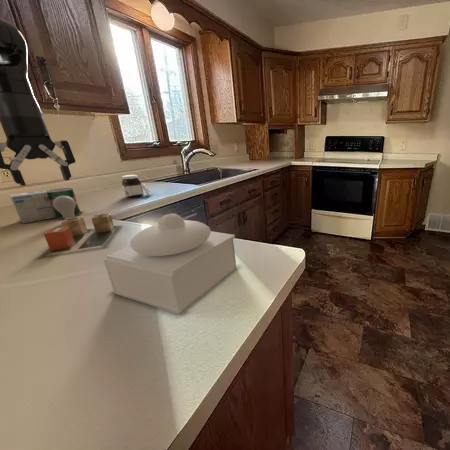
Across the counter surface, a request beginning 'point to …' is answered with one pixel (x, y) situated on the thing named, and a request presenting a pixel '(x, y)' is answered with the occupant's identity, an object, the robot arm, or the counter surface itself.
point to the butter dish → (171, 263)
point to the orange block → (59, 238)
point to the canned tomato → (63, 192)
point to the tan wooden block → (103, 223)
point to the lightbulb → (65, 206)
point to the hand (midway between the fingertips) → (46, 182)
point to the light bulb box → (33, 206)
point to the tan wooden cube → (75, 225)
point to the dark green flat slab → (92, 241)
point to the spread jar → (133, 186)
